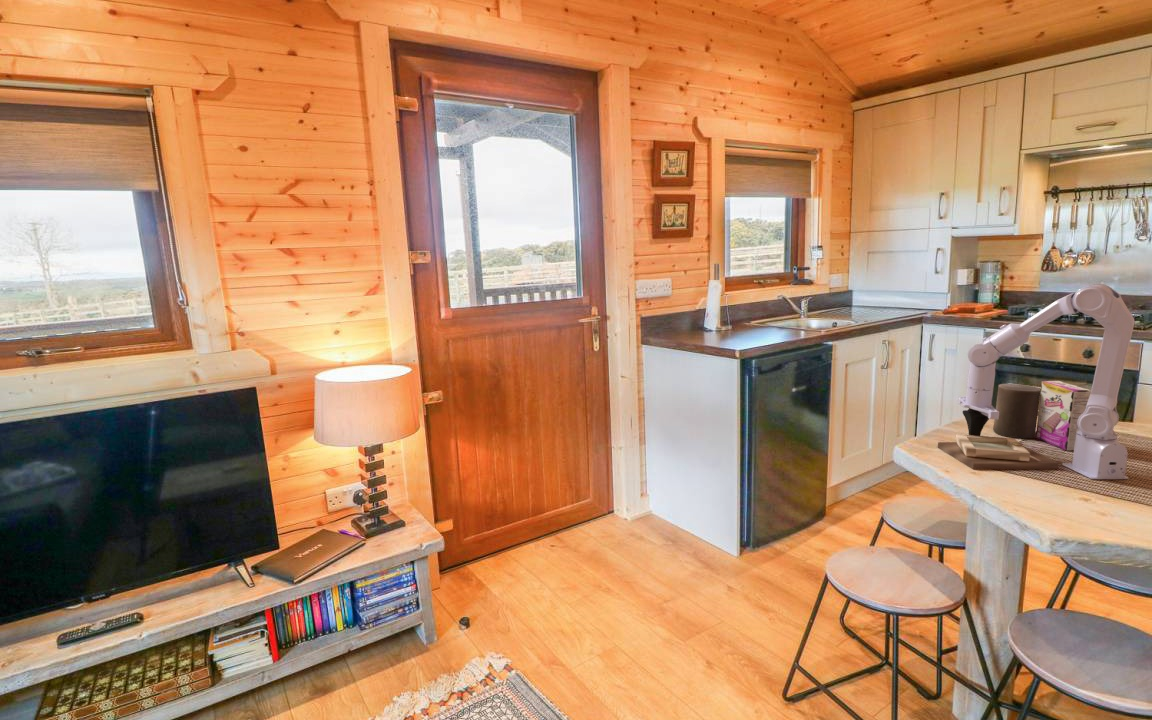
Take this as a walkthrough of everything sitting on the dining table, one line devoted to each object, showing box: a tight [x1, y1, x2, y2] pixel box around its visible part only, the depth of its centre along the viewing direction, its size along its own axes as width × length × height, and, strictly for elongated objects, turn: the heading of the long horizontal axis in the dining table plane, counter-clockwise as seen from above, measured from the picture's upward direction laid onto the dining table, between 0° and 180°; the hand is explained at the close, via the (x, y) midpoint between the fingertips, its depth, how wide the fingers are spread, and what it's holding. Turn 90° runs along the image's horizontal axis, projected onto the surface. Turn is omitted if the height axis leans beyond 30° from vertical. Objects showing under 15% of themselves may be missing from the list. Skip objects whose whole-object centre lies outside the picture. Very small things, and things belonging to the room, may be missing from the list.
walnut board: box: [937, 441, 1059, 470], centre depth 149 cm, size 16×20×2 cm
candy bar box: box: [1035, 380, 1091, 452], centre depth 156 cm, size 11×5×16 cm, turn 178°
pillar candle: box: [992, 382, 1041, 440], centre depth 166 cm, size 10×10×15 cm
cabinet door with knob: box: [955, 433, 1030, 461], centre depth 149 cm, size 12×13×2 cm
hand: (974, 437), depth 156 cm, fingers closed, pressing on cabinet door with knob
